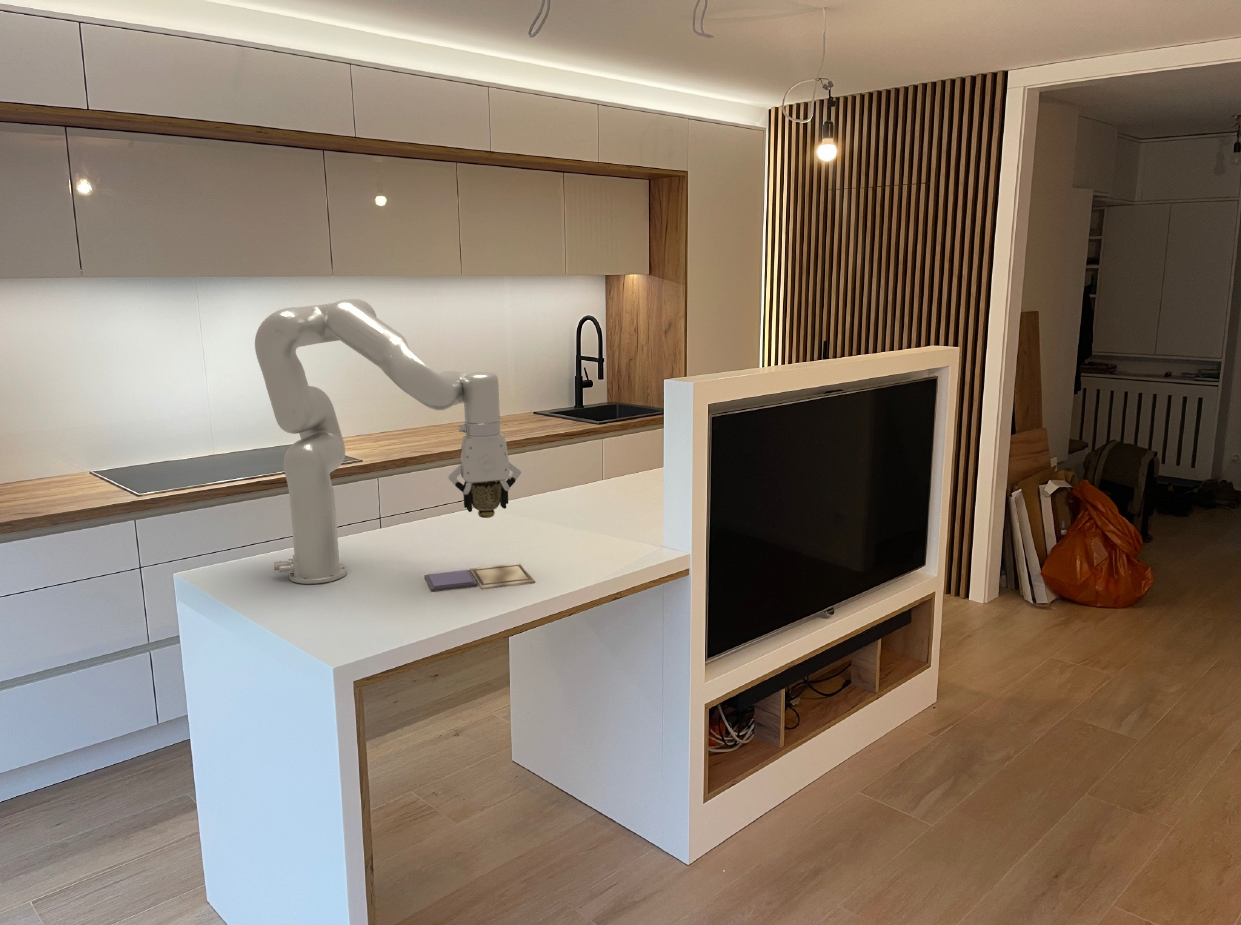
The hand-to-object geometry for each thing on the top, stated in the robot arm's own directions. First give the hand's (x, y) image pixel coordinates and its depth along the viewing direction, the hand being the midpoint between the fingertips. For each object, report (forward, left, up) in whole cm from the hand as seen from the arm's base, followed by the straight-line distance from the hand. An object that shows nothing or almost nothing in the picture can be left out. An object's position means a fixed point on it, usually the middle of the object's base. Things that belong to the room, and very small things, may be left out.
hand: (486, 508), depth 206 cm
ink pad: (-9, 0, -16) cm, 18 cm away
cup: (0, 0, -2) cm, 2 cm away
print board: (+3, 0, -16) cm, 16 cm away
